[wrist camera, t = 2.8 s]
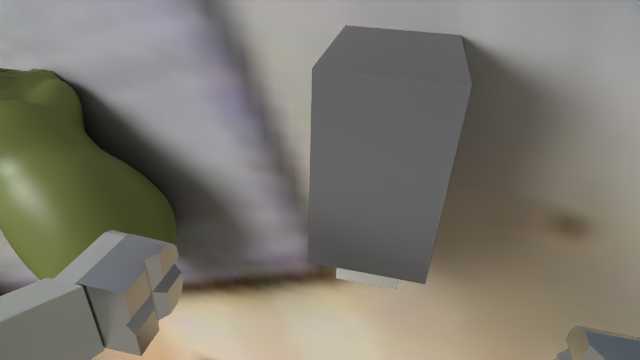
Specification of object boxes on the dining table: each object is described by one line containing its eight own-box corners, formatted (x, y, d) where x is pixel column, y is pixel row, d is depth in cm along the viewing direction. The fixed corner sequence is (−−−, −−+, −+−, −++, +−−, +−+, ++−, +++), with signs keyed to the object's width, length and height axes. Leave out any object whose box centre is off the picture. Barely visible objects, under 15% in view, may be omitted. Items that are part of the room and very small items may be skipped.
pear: (62, 346, 17) (-123, 138, 15) (152, 268, 21) (17, 102, 20) (139, 306, 14) (-78, 47, 12) (223, 227, 18) (73, 30, 17)
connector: (346, 24, 13) (312, 68, 9) (460, 34, 13) (472, 84, 9) (333, 229, 18) (307, 313, 14) (417, 243, 17) (412, 334, 13)
